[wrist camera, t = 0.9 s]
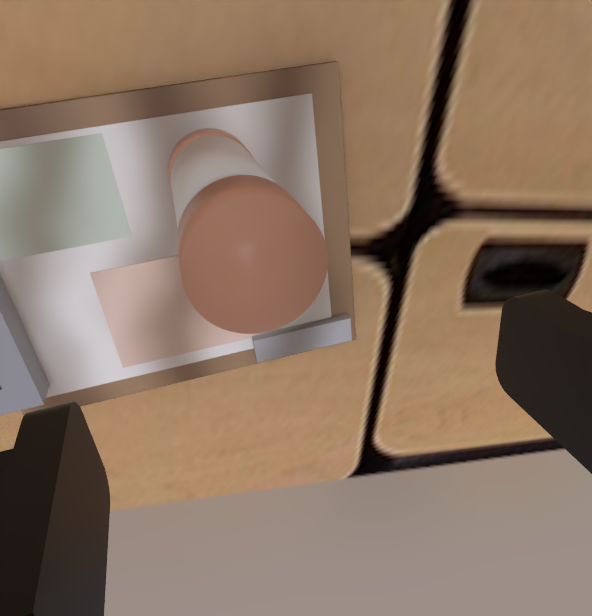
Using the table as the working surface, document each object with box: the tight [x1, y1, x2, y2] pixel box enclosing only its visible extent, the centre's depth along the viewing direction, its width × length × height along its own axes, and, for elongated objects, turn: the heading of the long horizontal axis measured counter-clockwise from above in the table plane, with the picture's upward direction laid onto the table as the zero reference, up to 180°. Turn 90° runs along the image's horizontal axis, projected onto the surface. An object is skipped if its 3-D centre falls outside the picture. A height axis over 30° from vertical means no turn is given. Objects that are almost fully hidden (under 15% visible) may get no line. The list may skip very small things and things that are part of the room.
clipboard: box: [0, 61, 356, 415], centre depth 26 cm, size 20×16×1 cm
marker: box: [168, 128, 328, 334], centre depth 19 cm, size 4×4×12 cm
